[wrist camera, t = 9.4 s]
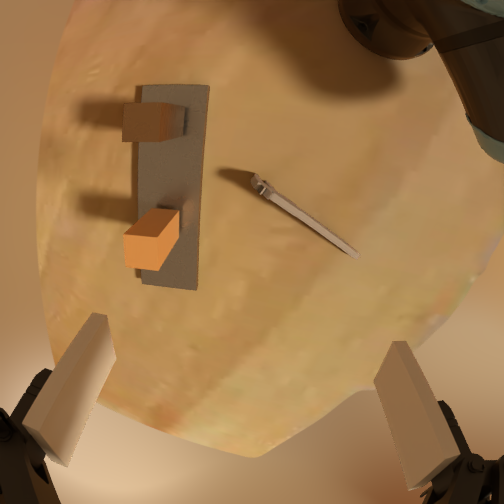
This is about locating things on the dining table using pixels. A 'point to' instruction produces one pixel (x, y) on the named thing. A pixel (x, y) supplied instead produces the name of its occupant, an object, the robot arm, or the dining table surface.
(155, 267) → the slide leg
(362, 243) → the dining table surface
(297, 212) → the caliper
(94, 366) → the robot arm
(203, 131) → the bar
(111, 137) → the dining table surface
